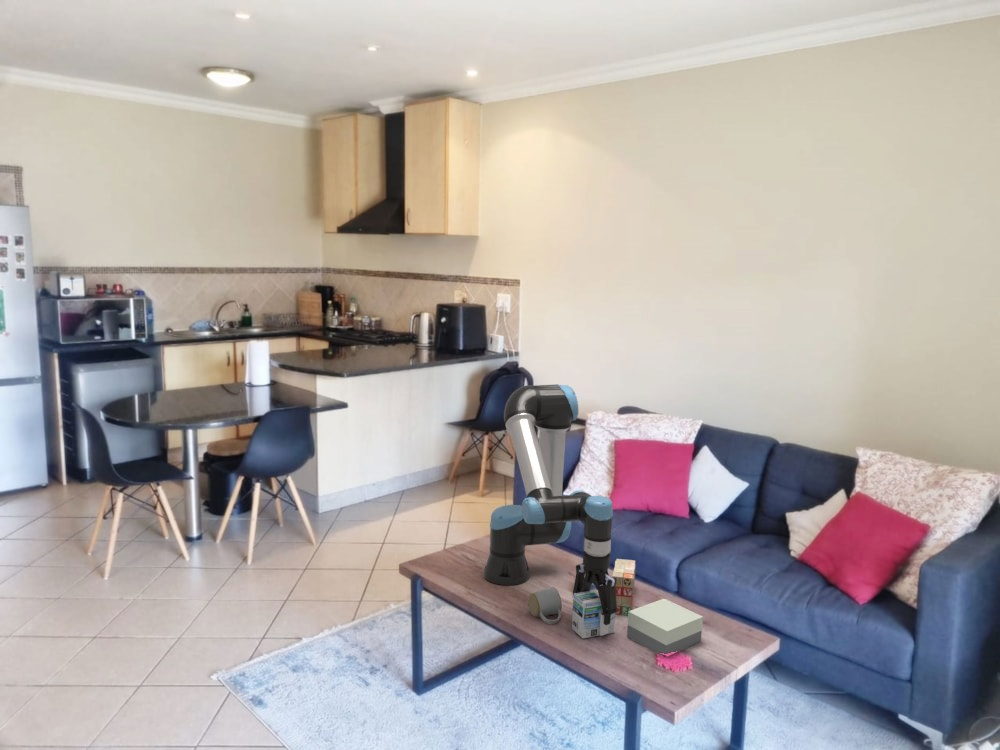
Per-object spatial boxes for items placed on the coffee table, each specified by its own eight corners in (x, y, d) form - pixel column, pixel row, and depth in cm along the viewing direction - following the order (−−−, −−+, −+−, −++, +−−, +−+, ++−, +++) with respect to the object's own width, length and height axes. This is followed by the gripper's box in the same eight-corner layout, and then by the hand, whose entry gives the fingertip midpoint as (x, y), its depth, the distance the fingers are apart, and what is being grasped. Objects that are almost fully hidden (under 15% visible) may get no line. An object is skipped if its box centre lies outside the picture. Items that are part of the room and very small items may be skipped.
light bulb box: (582, 639, 208) (584, 603, 206) (570, 628, 214) (572, 592, 212) (615, 632, 212) (617, 597, 211) (602, 622, 218) (604, 587, 217)
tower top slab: (627, 624, 210) (628, 611, 210) (663, 611, 219) (664, 598, 219) (666, 645, 199) (667, 631, 199) (702, 630, 208) (703, 616, 208)
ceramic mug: (525, 611, 224) (526, 587, 223) (549, 606, 228) (550, 582, 227) (542, 627, 215) (543, 602, 214) (567, 622, 219) (568, 597, 217)
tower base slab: (626, 638, 211) (627, 625, 210) (661, 624, 220) (661, 611, 219) (666, 659, 200) (667, 645, 199) (700, 643, 209) (701, 629, 209)
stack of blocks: (615, 585, 245) (617, 549, 243) (634, 587, 243) (636, 551, 242) (610, 614, 224) (612, 575, 222) (631, 617, 223) (633, 577, 221)
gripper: (561, 543, 215) (558, 618, 219) (614, 567, 199) (610, 647, 203) (580, 538, 220) (577, 611, 223) (633, 560, 204) (629, 638, 208)
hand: (593, 628), depth 213 cm, fingers closed on light bulb box, 8 cm apart
